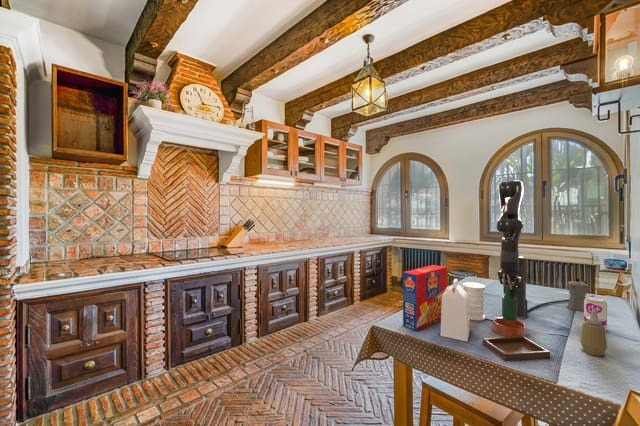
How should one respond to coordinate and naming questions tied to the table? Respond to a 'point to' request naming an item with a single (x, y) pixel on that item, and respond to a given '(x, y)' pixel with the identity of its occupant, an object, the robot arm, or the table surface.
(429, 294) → the pasta box
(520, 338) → the tray
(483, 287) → the decorative container
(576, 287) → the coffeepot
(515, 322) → the bowl
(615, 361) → the table surface
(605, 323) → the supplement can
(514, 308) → the bottle
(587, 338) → the squeeze bottle
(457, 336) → the milk
